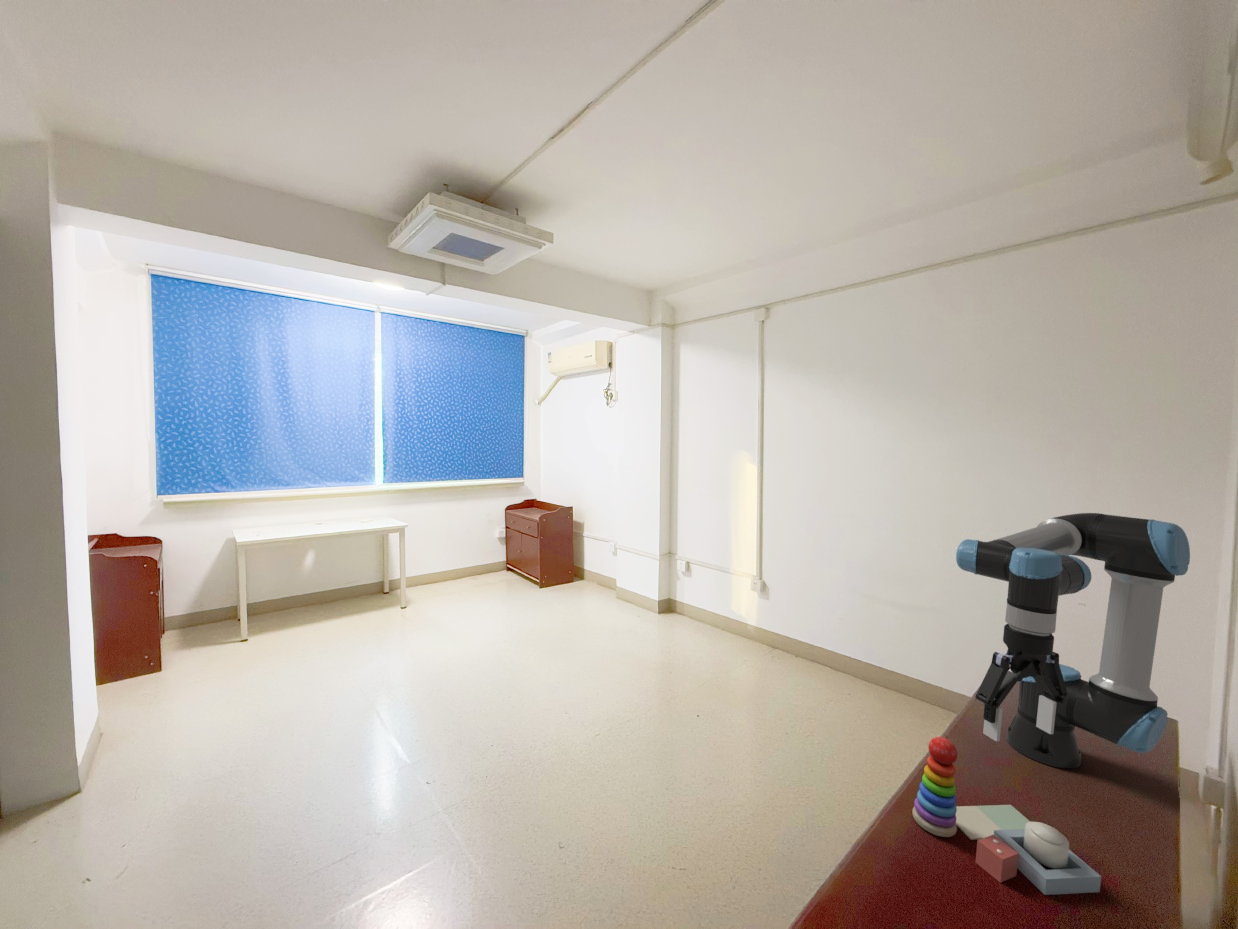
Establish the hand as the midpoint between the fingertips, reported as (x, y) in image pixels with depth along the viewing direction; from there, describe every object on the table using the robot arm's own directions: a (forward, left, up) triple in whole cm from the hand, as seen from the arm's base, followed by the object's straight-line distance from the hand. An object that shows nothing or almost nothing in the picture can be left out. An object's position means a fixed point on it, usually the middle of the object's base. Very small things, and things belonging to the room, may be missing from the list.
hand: (1018, 734), depth 98 cm
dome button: (-3, +4, -21) cm, 22 cm away
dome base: (-3, +4, -24) cm, 24 cm away
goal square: (-7, -7, -24) cm, 26 cm away
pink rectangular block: (+7, +4, -24) cm, 25 cm away
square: (+2, -7, -24) cm, 25 cm away
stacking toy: (+11, -7, -24) cm, 27 cm away
